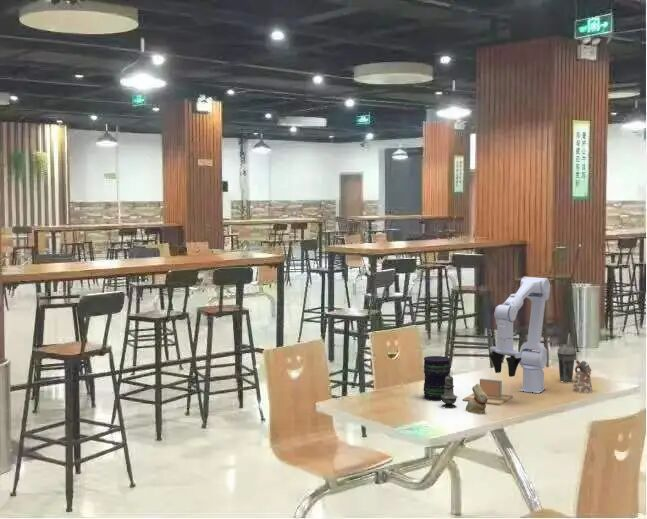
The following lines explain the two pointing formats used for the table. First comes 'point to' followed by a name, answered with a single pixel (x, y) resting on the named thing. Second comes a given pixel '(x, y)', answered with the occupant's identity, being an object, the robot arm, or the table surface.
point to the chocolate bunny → (477, 401)
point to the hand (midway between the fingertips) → (504, 374)
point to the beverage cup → (566, 361)
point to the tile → (491, 387)
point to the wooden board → (491, 399)
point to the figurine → (582, 378)
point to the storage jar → (435, 376)
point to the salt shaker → (449, 393)
